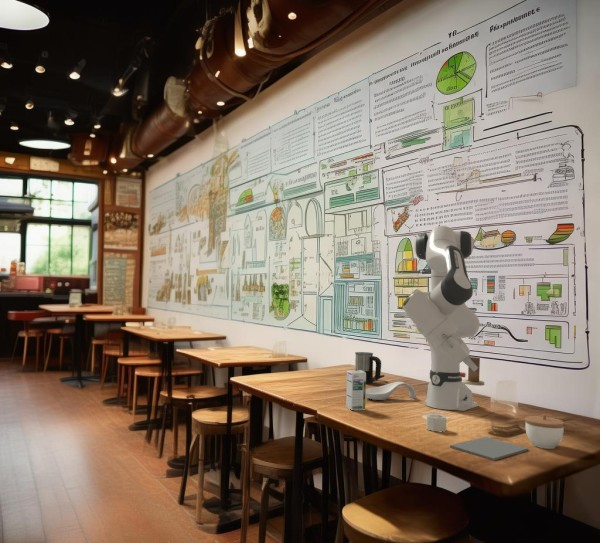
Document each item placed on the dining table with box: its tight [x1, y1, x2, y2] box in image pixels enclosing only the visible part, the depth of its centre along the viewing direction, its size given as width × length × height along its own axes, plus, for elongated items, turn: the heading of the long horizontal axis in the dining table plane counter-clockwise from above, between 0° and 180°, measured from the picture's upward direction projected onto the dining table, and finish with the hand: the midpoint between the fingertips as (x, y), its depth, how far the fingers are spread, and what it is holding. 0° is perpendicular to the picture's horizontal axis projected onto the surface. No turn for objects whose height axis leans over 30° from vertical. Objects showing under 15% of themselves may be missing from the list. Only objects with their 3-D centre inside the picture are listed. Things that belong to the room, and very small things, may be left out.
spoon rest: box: [365, 381, 417, 401], centre depth 222 cm, size 24×12×7 cm, turn 110°
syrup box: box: [345, 370, 367, 411], centre depth 199 cm, size 6×6×14 cm
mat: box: [449, 436, 529, 461], centre depth 152 cm, size 18×14×1 cm
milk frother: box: [354, 351, 385, 384], centre depth 265 cm, size 14×16×15 cm
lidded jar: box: [524, 413, 565, 450], centre depth 158 cm, size 11×11×9 cm
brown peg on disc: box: [462, 356, 485, 387], centre depth 158 cm, size 6×6×8 cm
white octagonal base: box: [425, 413, 447, 432], centre depth 172 cm, size 6×6×4 cm
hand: (476, 369), depth 157 cm, fingers closed on brown peg on disc, 3 cm apart
